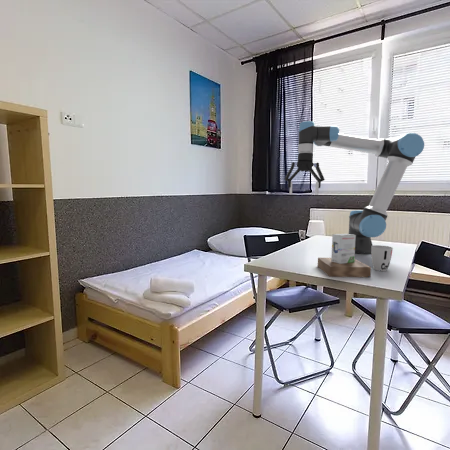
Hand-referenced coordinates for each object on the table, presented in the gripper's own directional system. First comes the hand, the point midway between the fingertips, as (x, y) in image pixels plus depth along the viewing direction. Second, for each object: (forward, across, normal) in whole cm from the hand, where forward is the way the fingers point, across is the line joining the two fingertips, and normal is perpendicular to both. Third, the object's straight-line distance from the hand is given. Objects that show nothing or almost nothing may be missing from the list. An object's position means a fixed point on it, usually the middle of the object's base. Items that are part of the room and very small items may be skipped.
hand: (303, 194), depth 155 cm
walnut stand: (+32, -9, +34) cm, 47 cm away
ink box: (+28, -9, +34) cm, 45 cm away
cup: (+32, -27, +30) cm, 51 cm away
